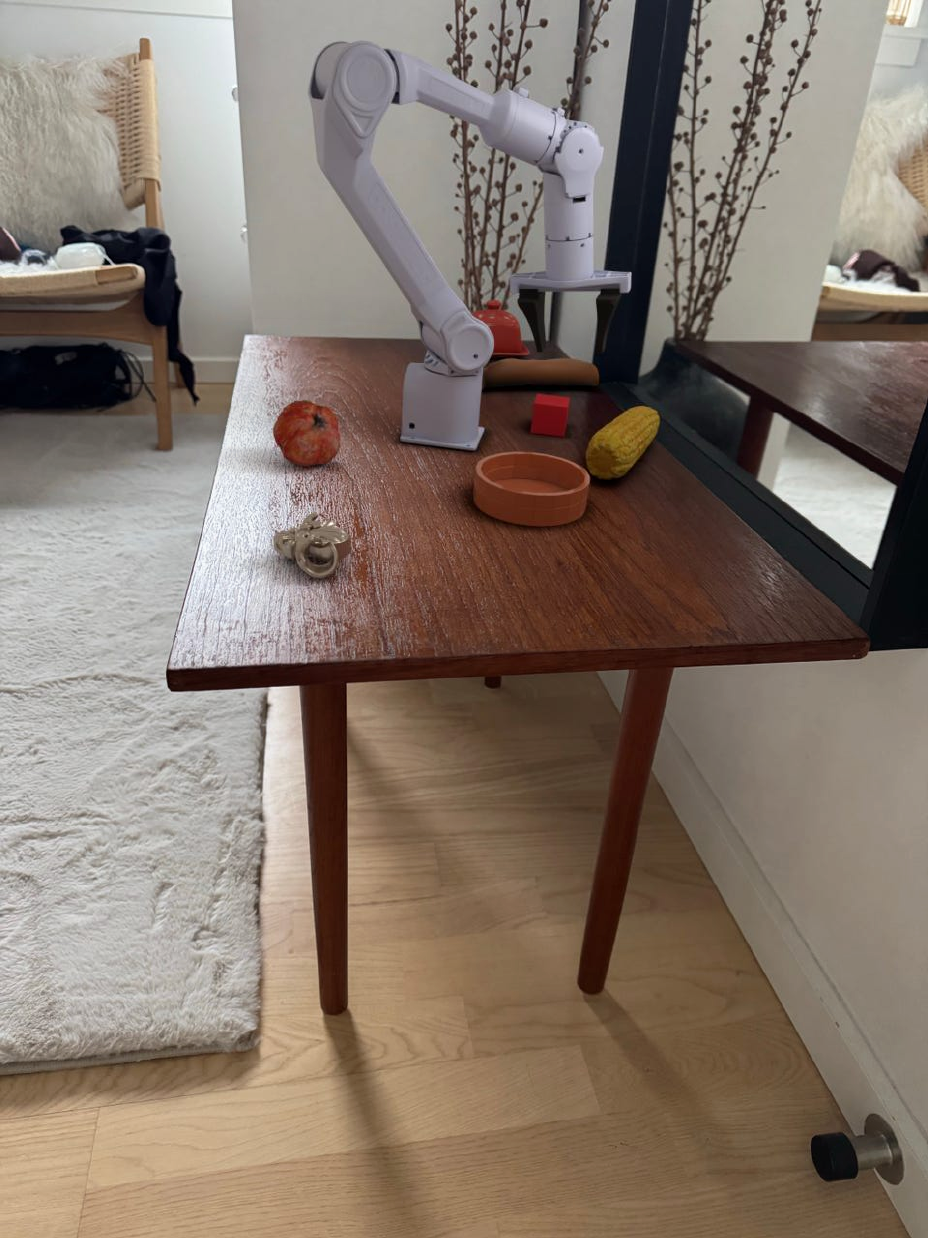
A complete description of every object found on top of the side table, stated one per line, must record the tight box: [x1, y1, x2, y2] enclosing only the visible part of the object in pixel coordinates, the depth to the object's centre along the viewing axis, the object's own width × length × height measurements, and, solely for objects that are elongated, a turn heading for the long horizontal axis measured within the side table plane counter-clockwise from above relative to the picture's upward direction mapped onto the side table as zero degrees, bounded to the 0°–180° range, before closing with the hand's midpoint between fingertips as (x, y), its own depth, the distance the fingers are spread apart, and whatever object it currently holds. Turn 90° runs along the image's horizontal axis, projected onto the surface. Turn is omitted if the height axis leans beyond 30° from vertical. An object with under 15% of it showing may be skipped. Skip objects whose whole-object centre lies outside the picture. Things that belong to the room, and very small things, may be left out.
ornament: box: [272, 511, 351, 579], centre depth 80 cm, size 8×7×4 cm
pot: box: [472, 451, 591, 527], centre depth 95 cm, size 12×12×4 cm
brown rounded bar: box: [481, 357, 600, 391], centre depth 134 cm, size 18×7×7 cm
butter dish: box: [470, 299, 531, 359], centre depth 147 cm, size 12×12×8 cm
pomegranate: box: [272, 399, 341, 468], centre depth 100 cm, size 7×7×10 cm
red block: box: [530, 393, 571, 438], centre depth 117 cm, size 4×4×4 cm
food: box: [585, 405, 661, 481], centre depth 109 cm, size 21×6×6 cm, turn 157°
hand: (570, 350), depth 112 cm, fingers open, 7 cm apart
